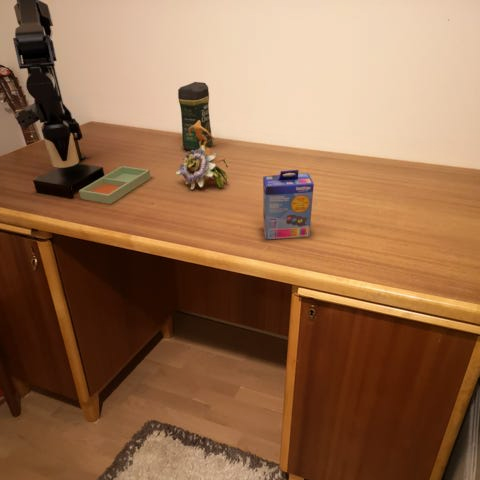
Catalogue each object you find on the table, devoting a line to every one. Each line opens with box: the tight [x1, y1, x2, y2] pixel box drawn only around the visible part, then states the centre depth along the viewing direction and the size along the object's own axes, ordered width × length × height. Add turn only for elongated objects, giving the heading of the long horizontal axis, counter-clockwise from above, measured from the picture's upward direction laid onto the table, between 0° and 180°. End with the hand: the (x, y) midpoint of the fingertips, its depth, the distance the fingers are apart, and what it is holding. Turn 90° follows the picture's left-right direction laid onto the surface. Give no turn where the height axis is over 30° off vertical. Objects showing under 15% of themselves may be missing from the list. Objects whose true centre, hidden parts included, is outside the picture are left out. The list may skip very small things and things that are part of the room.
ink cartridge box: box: [262, 169, 315, 241], centre depth 96 cm, size 10×6×14 cm, turn 95°
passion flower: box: [175, 145, 229, 191], centre depth 121 cm, size 11×11×12 cm
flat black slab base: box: [32, 163, 106, 200], centre depth 125 cm, size 14×12×4 cm
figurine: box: [189, 120, 215, 155], centre depth 133 cm, size 8×6×12 cm
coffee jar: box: [177, 81, 213, 152], centre depth 142 cm, size 10×8×19 cm
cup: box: [43, 133, 80, 168], centre depth 120 cm, size 7×7×7 cm
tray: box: [78, 165, 152, 205], centre depth 123 cm, size 18×9×2 cm, turn 155°
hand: (63, 156), depth 121 cm, fingers closed on cup, 7 cm apart
